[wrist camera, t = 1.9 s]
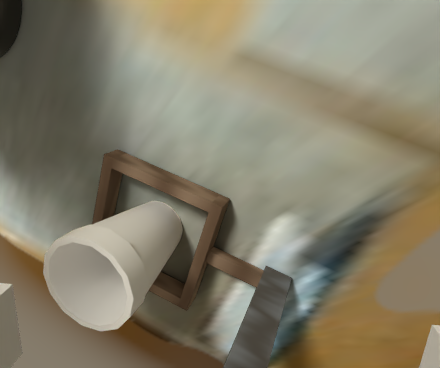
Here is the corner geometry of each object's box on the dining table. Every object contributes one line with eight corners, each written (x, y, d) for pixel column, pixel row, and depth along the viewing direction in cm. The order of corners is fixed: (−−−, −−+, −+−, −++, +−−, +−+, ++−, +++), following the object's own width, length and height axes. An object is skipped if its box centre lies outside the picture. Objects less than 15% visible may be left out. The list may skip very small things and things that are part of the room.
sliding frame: (99, 248, 46) (-4, 322, 32) (117, 149, 40) (1, 190, 27) (264, 333, 41) (223, 462, 28) (312, 235, 35) (290, 337, 22)
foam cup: (176, 179, 39) (103, 225, 28) (206, 251, 41) (150, 324, 29) (113, 200, 43) (26, 249, 31) (144, 265, 45) (72, 335, 33)
